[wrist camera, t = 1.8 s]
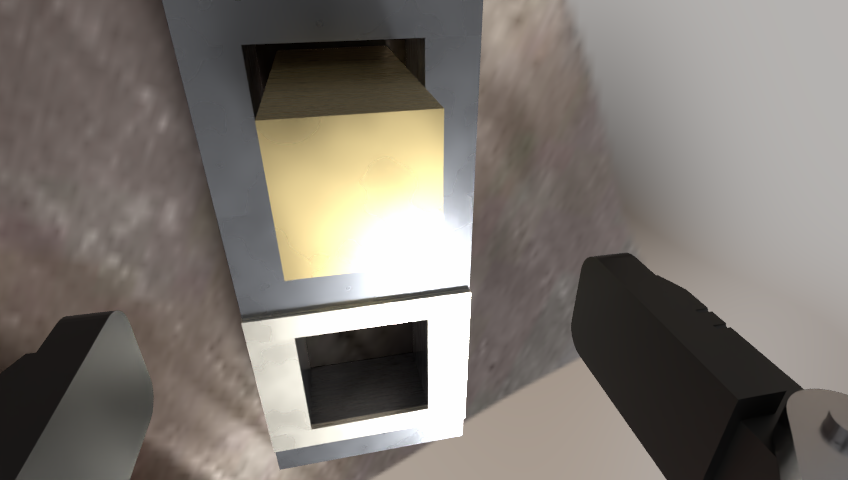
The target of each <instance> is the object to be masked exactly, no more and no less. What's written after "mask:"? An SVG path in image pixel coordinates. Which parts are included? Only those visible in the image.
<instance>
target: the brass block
mask: <svg viewBox="0 0 848 480" xmlns="http://www.w3.org/2000/svg"><path fill="white" fill-rule="evenodd" d="M255 124H256V129H257V135H258V140H259V145H260V151H261V156H262V161H263V167H264V172H265V178H266V183H267V188H268V194H269V199H270V205H271V210H272V215H273V221H274V226H275V231H276V237H277V242H278V248H279V253H280V258H281V264H282V269H283V275H284V280H285V281H288V280H297V279H305V278H313V277H321V276H329V275H338V274H346V273H354V272H362V271H371V270H379V269H387V268H395V267H403V266H412V265H420V264H428V263H436V262H442V243H443V166H444V108H443V107H442V105H441V104H440V103H439V102H438V101H437V100H436V99H435V98H434V97H433V96H432V95H431V94H430V93H429V91H428V90H427V89H426V88H425V87H424V86H423V85H422V84H421V83H420V82H419V81H418V80H417V78H416V77H415V76H414V75H413V74H412V73H411V72H410V71H409V70H408V69H407V68H406V67H405V65H404V64H403V63H402V62H401V61H400V60H399V59H398V58H397V57H396V56H395V55H394V54H393V53H392V51H391V50H390V49H389V48H388V47H387V46H367V47H342V48H318V49H294V50H277V52H276V55H275V59H274V62H273V65H272V68H271V71H270V75H269V78H268V81H267V84H266V87H265V90H264V94H263V97H262V100H261V103H260V106H259V109H258V113H257V116H256V119H255Z"/></svg>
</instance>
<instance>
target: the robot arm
mask: <svg viewBox="0 0 848 480" xmlns="http://www.w3.org/2000/svg"><path fill="white" fill-rule="evenodd" d="M571 331H572V338H573V342H574V345H575V348H576V350H577V352H578V354H579V355H580V357H581V358H582V360H583V361H584V362H585V364H586V365H587V367H588V368H589V370H590V371H591V372H592V374H593V375H594V377H595V378H596V379H597V381H598V382H599V384H600V385H601V387H602V388H603V390H604V391H605V392H606V394H607V395H608V397H609V398H610V399H611V401H612V402H613V404H614V405H615V407H616V408H617V409H618V411H619V412H620V414H621V415H622V416H623V418H624V419H625V421H626V422H627V424H628V425H629V427H630V428H631V429H632V431H633V432H634V433H635V435H636V436H637V438H638V439H639V441H640V442H641V444H642V445H643V446H644V448H645V449H646V451H647V452H648V454H649V455H650V456H651V458H652V459H653V461H654V462H655V463H656V465H657V466H658V468H659V469H660V471H661V472H662V474H663V475H664V476H665V478H666V479H667V480H848V395H846V394H843V393H839V392H835V391H831V390H825V389H805V390H804V389H803V388H801V386H799V385H798V384H797V383H796V382H795V381H793V380H792V379H791V378H790V377H789V376H788V375H786V374H785V373H784V372H783V371H782V370H780V369H779V368H778V367H777V366H776V365H775V364H773V363H772V362H771V361H770V360H769V359H767V358H766V357H765V356H764V355H763V354H762V353H760V352H759V351H758V350H757V349H755V348H754V347H753V346H752V345H751V344H750V343H749V342H747V341H746V340H745V339H744V338H743V337H741V336H740V335H739V334H738V333H737V332H736V331H734V330H733V329H732V328H731V327H730V328H727V327H726V323H725V322H724V321H723V320H721V319H720V318H719V317H718V316H717V315H716V314H714V313H713V312H708V309H707V307H706V306H705V305H704V304H702V303H701V302H700V301H699V300H698V299H696V298H695V297H694V296H693V295H692V294H691V293H690V292H688V291H687V290H686V289H684V288H682V287H680V286H678V285H676V284H674V283H672V282H670V281H668V280H666V279H664V278H662V277H660V276H658V275H655V274H654V273H653V272H652V271H650V270H649V269H648V268H647V267H646V266H645V265H644V264H642V263H641V262H640V261H639V260H638V259H637V258H636V257H634V256H633V255H632V254H629V253H620V254H611V255H602V256H594V257H589V258H587V259H586V260H585V261H584V263H583V265H582V269H581V274H580V279H579V284H578V290H577V295H576V301H575V306H574V311H573V317H572V323H571ZM152 411H153V387H152V382H151V379H150V376H149V373H148V371H147V368H146V365H145V363H144V360H143V357H142V355H141V352H140V349H139V347H138V344H137V342H136V339H135V336H134V334H133V331H132V328H131V326H130V323H129V321H128V319H127V317H126V315H125V314H124V313H123V312H121V311H109V312H100V313H91V314H83V315H74V316H66V317H63V318H62V319H61V320H59V322H58V323H57V324H56V325H55V327H54V328H53V330H52V331H51V333H50V334H49V335H48V337H47V338H46V340H45V341H44V342H43V344H42V345H41V347H40V348H39V349H38V351H37V352H36V353H30V354H25V355H24V356H23V357H21V358H20V359H19V360H17V361H16V362H15V363H13V364H12V365H11V366H10V367H8V368H7V369H6V370H4V371H3V372H2V373H1V374H0V480H130V477H131V474H132V471H133V468H134V466H135V463H136V460H137V457H138V454H139V451H140V448H141V446H142V443H143V440H144V437H145V434H146V431H147V428H148V426H149V423H150V420H151V416H152Z"/></svg>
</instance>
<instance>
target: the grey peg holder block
mask: <svg viewBox="0 0 848 480" xmlns="http://www.w3.org/2000/svg"><path fill="white" fill-rule="evenodd" d="M162 2H163V6H164V10H165V14H166V18H167V22H168V26H169V30H170V34H171V38H172V42H173V46H174V50H175V54H176V58H177V62H178V66H179V70H180V74H181V78H182V82H183V86H184V90H185V94H186V98H187V102H188V106H189V110H190V114H191V118H192V122H193V126H194V130H195V134H196V138H197V142H198V146H199V150H200V154H201V158H202V162H203V165H204V169H205V173H206V177H207V181H208V185H209V189H210V193H211V197H212V201H213V205H214V209H215V213H216V217H217V221H218V225H219V229H220V233H221V237H222V241H223V245H224V249H225V253H226V257H227V261H228V265H229V269H230V273H231V277H232V281H233V285H234V289H235V293H236V297H237V301H238V305H239V309H240V313H241V317H242V322H241V324H242V328H243V332H244V336H245V340H246V344H247V348H248V352H249V356H250V360H251V364H252V368H253V371H254V375H255V379H256V383H257V387H258V391H259V395H260V399H261V403H262V407H263V411H264V415H265V419H266V423H267V427H268V431H269V434H270V438H271V442H272V446H273V450H274V452H276V456H277V460H278V464H279V468H280V469H286V468H291V467H296V466H302V465H307V464H312V463H318V462H323V461H328V460H334V459H339V458H344V457H350V456H355V455H361V454H366V453H371V452H377V451H382V450H387V449H393V448H398V447H403V446H409V445H414V444H419V443H425V442H430V441H435V440H441V439H446V438H451V437H457V436H462V431H463V418H465V405H466V385H467V365H468V345H469V325H470V305H471V291H470V289H469V284H470V263H471V242H472V221H473V200H474V179H475V158H476V137H477V116H478V95H479V74H480V53H481V33H482V12H483V0H162ZM404 38H405V53H406V68H407V69H408V70H409V71H410V72H411V73H412V74H413V75H414V76H415V77H416V78H417V80H418V81H419V82H420V83H421V84H422V85H423V86H424V87H425V88H426V89H427V90H428V91H429V93H430V94H431V95H432V96H433V97H434V98H435V99H436V100H437V101H438V102H439V103H440V104H441V105H442V107H443V108H444V166H443V243H442V262H436V263H428V264H420V265H412V266H403V267H395V268H387V269H379V270H371V271H362V272H354V273H346V274H338V275H329V276H321V277H313V278H305V279H297V280H288V281H285V280H284V275H283V269H282V264H281V258H280V253H279V248H278V242H277V237H276V231H275V226H274V221H273V215H272V210H271V205H270V199H269V194H268V188H267V183H266V178H265V172H264V167H263V161H262V156H261V151H260V145H259V140H258V135H257V129H256V124H255V119H256V116H257V113H258V109H259V106H260V103H261V100H262V97H263V94H264V93H263V87H262V81H261V76H260V70H259V64H258V58H257V52H256V47H255V44H275V43H301V42H327V41H353V40H378V39H404ZM405 322H412V324H413V353H407V354H400V355H393V356H387V357H380V358H374V359H367V360H361V361H354V362H348V363H341V364H335V365H328V366H322V367H315V368H311V367H310V361H309V355H308V349H307V344H306V338H305V337H306V336H313V335H320V334H327V333H334V332H341V331H348V330H355V329H362V328H369V327H376V326H384V325H391V324H398V323H405Z"/></svg>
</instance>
